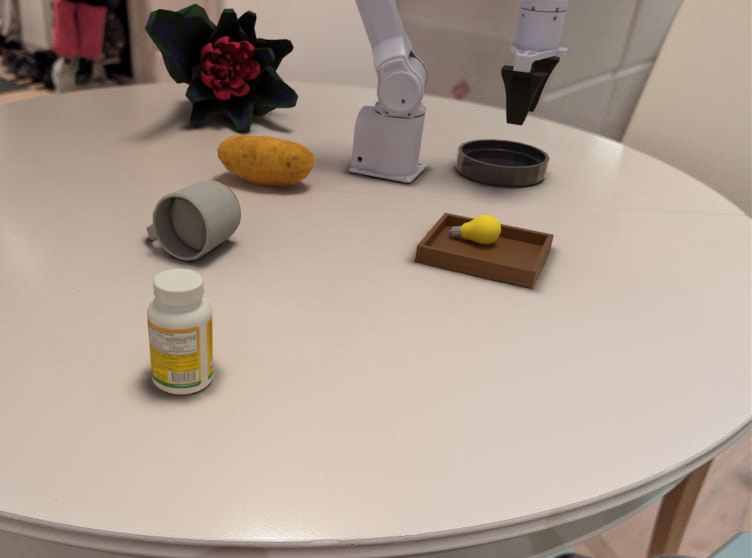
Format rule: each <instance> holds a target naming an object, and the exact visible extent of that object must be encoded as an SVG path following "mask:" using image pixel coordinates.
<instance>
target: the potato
mask: <svg viewBox="0 0 752 558" xmlns="http://www.w3.org/2000/svg"><path fill="white" fill-rule="evenodd" d="M216 151H217V158H218V159H219V161H220V162H221V164H222V165H223V166H224V168H225V169H226V170H227V171H228V172H230V173H232V174H234V175H236V176H237V177H239V178H241V179H243V180H245V181H247V182H249V183H252V184H255V185H257V186H263V187H265V186H266V187H288V186H293V185H295V184H297V183H298V182H300V181H303V180H304V179H307V178H308V176H309V175H310V173H311V172H312V170H313V169H314V166H315V164H316V159H315V155H314V153H313V152H312V151H311V150H310V149H309V147H307V146H304V145H303V144H301V143H298V142H296V141H291V140H287V139H281V138H278V137H272V136H268V135H248V134H247V135H246V134H237V135H232V136H228V137H227V138H225V139H224V140H222V141H221V142H220V143H219V145H218V147H217V149H216Z"/></svg>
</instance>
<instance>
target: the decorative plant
mask: <svg viewBox="0 0 752 558" xmlns="http://www.w3.org/2000/svg"><path fill="white" fill-rule="evenodd" d="M257 19H258V17H257V13H256V12H254V11H252V10H250V9H249V10H247V11H245V12H243V13H242V14H241V15H240V16H239V17H238V14H237V12H236V11H235V10H234V8H223V9H222V12H221V13H220V16H219V19H218V21H217V24H215V23H214V22H213V21H212V20H211V18H210V16H209V15H208V12H207V11H206V9H205V8H204V7H203V6H201V5H200V4H198V3H193V4H191V5H188V6H186V7H183V8H181V9H179V10H177V11H176V10H175V11H174V10H170V9H164V8H158V9H156V10H153V11H151V12H150V13H149V16H148V18H147V21H146V24H145V27H144V30H145V31H146V33H147V35H148V37H149V38H150V40H151V41H152V43H153V44H154V45H155V46H156V48H157V49H158V51H159V52H160V54H161V57H162V60H163V64H164V67H165V69H166V71H167V73H168V75H169V77H170V78H171V79H172V80H173V81H174V82H175V83H176V84H177V85H178V84H179V85H180V84H185V85H188V87H187V88H186V91H185V98H186V99H187V100H188V101H189V102H190V103H191V106H192V107H191V112H190V116H189V126H192V127H194V128H196V129H197V128H199V126H201V125H202V124H203V123H204V122H205V121H206V120H207V118H208V117H209V116H211V114H212V113H214V112H216V111H217V112H218V113H219V114H220V115H223V116H224V117H226V118H227V119H230V120H231V121H232V122H233V124H234V126H235V127H236V129H237V130H238V131H239V132H240V133H244V132H247V131H250V129H251V127H252V123H253V117H260V118H261V117H263V116H264V117H265V115H267V114H269V113H271V112H273V111H274V110H277V109H292V108H295V107H297V103H298V99H299V94H297V92H296V90H295V89H293V87H291V86H290V85H289V84H288V83H286V82H285V81H284V79H282V76H280V75H279V74H278V72H277V71H278V69H279V67H280V65H281V63H282V61H283V60H284V59H285V58H286V57H287V56H288V55H289V54H291V53H292V52H293V50H294V48H295V47H294V44H293V42H292V40H290V39H288V38H277V39H271V38H270V39H268V38H262V37H257V33H256V24H257Z"/></svg>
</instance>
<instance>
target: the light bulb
mask: <svg viewBox="0 0 752 558" xmlns="http://www.w3.org/2000/svg"><path fill="white" fill-rule="evenodd" d="M500 224H501V223H500V220H499V219H497V217H495V216H494V215H492V214H491V215H490V214H481V215H478V216H477V217H474V219H473V220H472V221H470V222H468V223H464V224H463V225H462V226H458V227H457V226H455V227H454V226H453V227H452V229H451V230H450V231H449V235H451V236H452V237H453V238H459V237H460V238H464V239H465V240H471V241H473V242H475V243H478V244H481V245H489V244H492V243H493V242H495V241H496V240H497V239H498V237H499V235H500V233H501V225H500Z"/></svg>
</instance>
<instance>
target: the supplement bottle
mask: <svg viewBox="0 0 752 558" xmlns="http://www.w3.org/2000/svg"><path fill="white" fill-rule="evenodd" d="M204 284H205V283H204V277H203V276H202V274H200V273H199V272H197V271H194V270H192V269H187V268H171V269H167V270H163V271H161V272H159V273H157V274H156V275H155V277H154V278H153V282H152V285H153V287H152V288H153V295H154V298H153V299H152V300H151V301H150V302H149V304H148V306H147V308H146V319H147V320H146V321H147V331H148V344H149V359H150V369H151V371H150V372H151V379H152V382H153V384H154V386H156V387H157V388H158V389H160V390H161V391H163V392H165V393H168V394H173V395H190V394H193V393H198V392H199V391H201V390H203V389H205V388H206V387H207V386H209V384H210V383H211V382H212V380H213V376H214V346H213V345H214V344H213V343H214V342H213V341H214V337H213V336H214V335H213V333H214V332H213V307H212V305H211V303H210V300H208V298H207V297H205V296H204V294H205V287H204Z"/></svg>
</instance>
